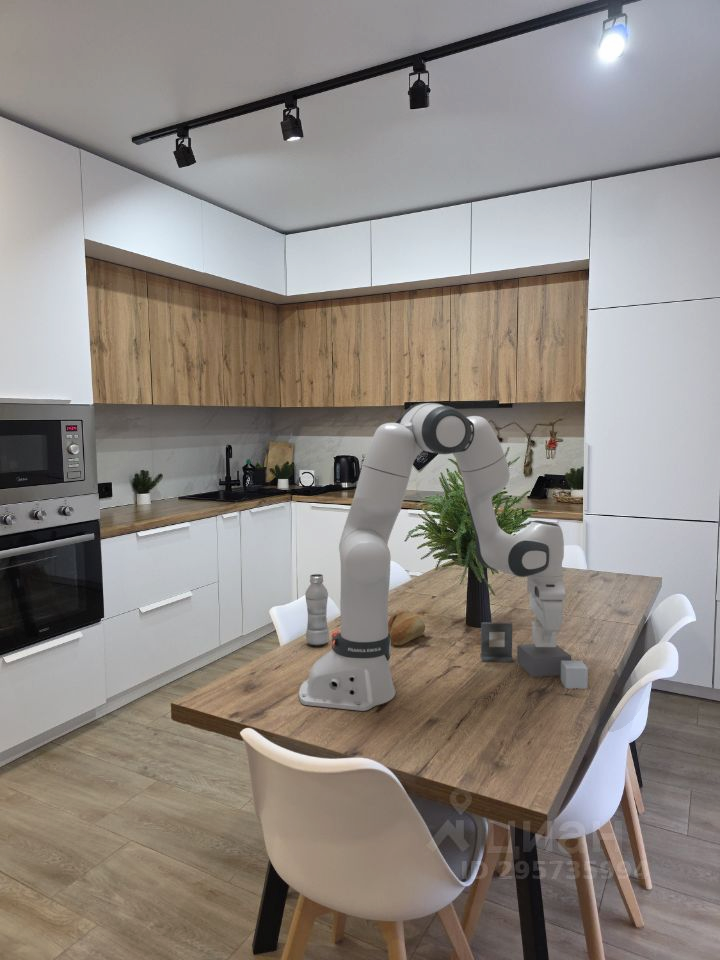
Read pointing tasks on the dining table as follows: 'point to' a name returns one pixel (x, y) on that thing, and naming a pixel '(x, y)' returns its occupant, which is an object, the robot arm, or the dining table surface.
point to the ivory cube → (541, 636)
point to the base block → (541, 659)
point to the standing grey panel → (496, 642)
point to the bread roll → (405, 627)
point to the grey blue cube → (574, 674)
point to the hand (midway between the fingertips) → (543, 637)
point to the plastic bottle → (317, 611)
